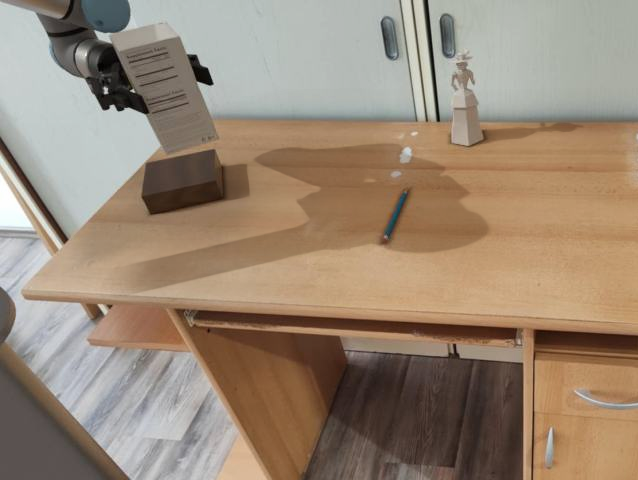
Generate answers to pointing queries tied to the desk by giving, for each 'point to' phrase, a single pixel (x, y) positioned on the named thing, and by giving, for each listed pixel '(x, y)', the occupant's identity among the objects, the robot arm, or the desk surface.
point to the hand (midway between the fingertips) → (177, 90)
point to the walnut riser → (182, 181)
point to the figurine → (464, 105)
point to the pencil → (394, 217)
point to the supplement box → (165, 86)
